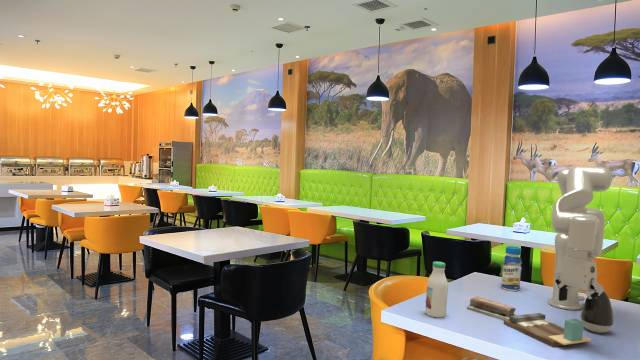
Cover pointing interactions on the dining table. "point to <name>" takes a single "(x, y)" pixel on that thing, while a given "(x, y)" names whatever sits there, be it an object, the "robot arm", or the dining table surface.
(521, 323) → the ticket board
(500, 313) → the packaged product
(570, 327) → the teal block on plate
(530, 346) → the dining table surface
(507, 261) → the beverage bottle
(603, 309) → the brown egg-shaped diffuser
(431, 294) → the milk bottle
